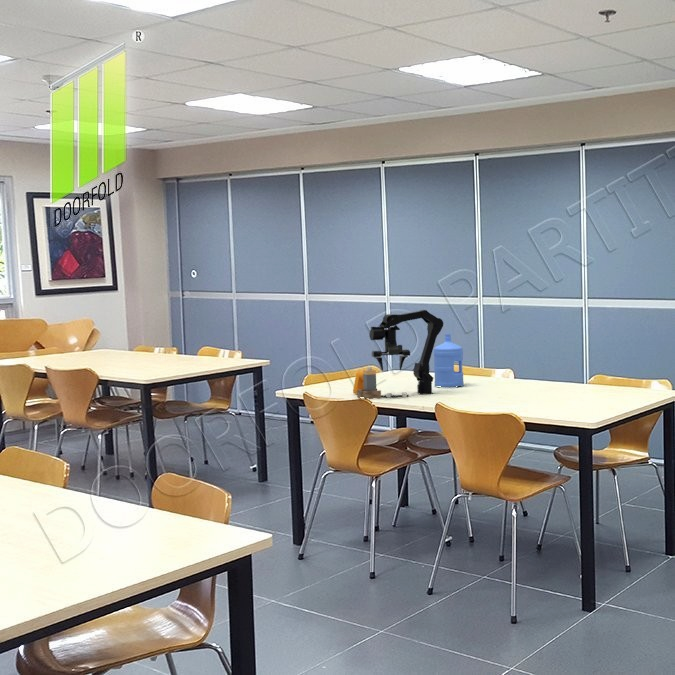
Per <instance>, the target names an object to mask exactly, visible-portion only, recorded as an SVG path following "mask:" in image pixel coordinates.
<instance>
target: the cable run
mask: <svg viewBox="0 0 675 675" xmlns="http://www.w3.org/2000/svg"><path fill="white" fill-rule="evenodd" d="M407 396H409V394H407ZM409 397H410V396H409ZM381 398H386V395H385V394H383V395H382V394H381ZM391 398H404V397H403V396H402V394H398V395H395V394H393V395H391Z"/></svg>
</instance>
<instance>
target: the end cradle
mask: <svg viewBox="0 0 675 675" xmlns="http://www.w3.org/2000/svg"><path fill="white" fill-rule="evenodd" d="M356 395H357V398H358V399H360V397H364V398H369V399H368V400H373V398H377V399H382V397H381V395H382V390H378V388H377V387H376V391H364V389H357V394H356Z"/></svg>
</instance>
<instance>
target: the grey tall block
mask: <svg viewBox="0 0 675 675" xmlns="http://www.w3.org/2000/svg"><path fill="white" fill-rule="evenodd" d="M362 371H363V386H364V391H376V388H377V371H376V369H373V367H372V366H367V367H366V369H362Z"/></svg>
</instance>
